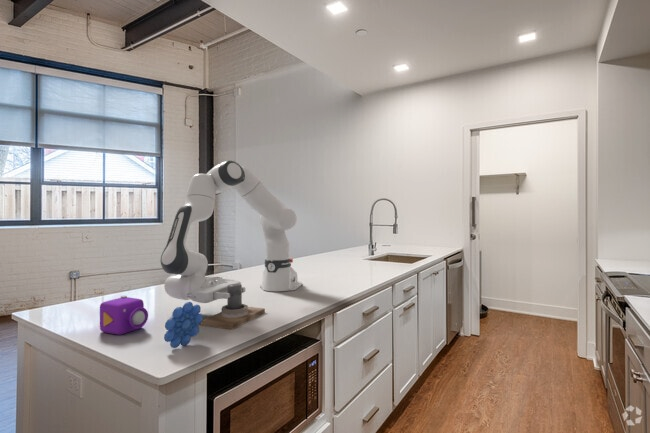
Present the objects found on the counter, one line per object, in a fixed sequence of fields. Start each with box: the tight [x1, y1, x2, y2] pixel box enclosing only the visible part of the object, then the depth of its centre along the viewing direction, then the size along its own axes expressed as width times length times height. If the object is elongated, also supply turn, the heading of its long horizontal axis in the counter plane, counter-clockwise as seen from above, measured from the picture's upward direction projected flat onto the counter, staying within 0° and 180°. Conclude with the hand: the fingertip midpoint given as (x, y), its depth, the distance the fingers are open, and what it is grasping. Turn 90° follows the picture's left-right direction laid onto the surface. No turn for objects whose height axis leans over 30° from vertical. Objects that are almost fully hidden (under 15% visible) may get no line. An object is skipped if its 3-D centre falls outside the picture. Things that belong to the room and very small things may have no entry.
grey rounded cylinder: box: [226, 283, 243, 310], centre depth 126 cm, size 5×5×10 cm
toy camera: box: [99, 295, 149, 336], centre depth 113 cm, size 11×14×10 cm
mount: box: [200, 303, 266, 330], centre depth 126 cm, size 20×12×4 cm, turn 159°
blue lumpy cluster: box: [163, 301, 204, 349], centre depth 101 cm, size 12×7×12 cm, turn 144°
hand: (236, 292), depth 125 cm, fingers open, 8 cm apart
